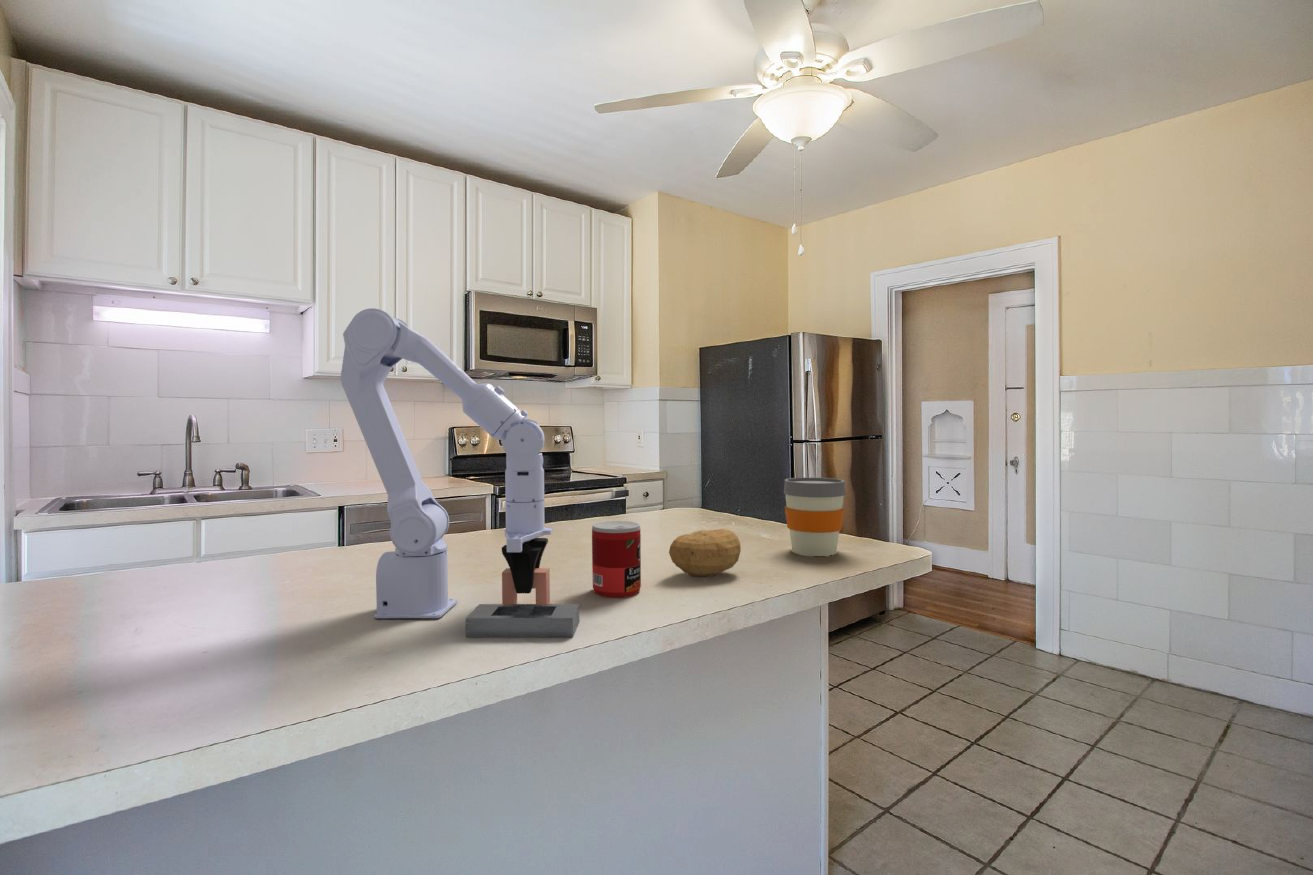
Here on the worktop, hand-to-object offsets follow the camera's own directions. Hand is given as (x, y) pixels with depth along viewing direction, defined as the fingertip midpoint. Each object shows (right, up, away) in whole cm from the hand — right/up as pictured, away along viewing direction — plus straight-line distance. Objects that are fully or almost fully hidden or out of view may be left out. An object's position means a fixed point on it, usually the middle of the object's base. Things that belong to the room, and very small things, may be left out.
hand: (526, 589), depth 94 cm
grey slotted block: (+2, -3, -10) cm, 10 cm away
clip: (0, -2, 0) cm, 2 cm away
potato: (+28, -2, +18) cm, 33 cm away
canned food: (+13, -2, +8) cm, 16 cm away
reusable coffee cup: (+53, -1, +36) cm, 64 cm away
